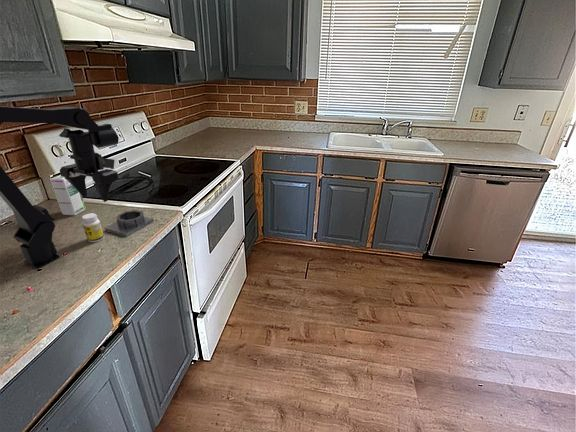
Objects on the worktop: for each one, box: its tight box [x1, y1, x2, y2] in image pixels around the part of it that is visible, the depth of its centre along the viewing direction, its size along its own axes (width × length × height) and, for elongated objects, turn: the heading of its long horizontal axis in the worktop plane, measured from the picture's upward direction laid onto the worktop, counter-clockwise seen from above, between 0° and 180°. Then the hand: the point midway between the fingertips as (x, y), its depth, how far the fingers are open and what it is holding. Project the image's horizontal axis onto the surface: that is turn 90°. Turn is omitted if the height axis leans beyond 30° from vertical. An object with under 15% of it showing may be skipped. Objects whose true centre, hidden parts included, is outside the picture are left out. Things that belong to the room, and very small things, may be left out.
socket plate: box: [103, 209, 155, 237], centre depth 110 cm, size 12×10×4 cm
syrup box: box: [49, 174, 87, 216], centre depth 118 cm, size 6×6×14 cm
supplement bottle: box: [81, 212, 105, 243], centre depth 101 cm, size 5×5×8 cm
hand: (95, 199), depth 101 cm, fingers open, 9 cm apart
